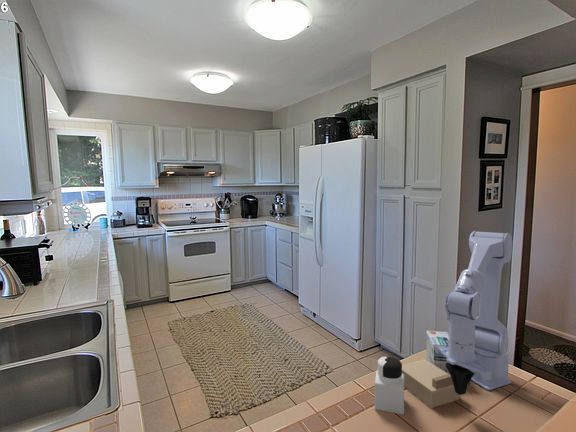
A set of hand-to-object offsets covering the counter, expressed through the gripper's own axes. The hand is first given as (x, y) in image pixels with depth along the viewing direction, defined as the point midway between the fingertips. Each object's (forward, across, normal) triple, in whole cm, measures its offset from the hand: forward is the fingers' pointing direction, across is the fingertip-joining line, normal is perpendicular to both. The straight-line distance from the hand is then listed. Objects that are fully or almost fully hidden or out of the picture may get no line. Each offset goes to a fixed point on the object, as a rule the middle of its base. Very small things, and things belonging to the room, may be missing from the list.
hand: (460, 392), depth 81 cm
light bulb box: (+6, -17, +11) cm, 21 cm away
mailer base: (+5, -11, 0) cm, 12 cm away
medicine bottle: (+6, -10, -14) cm, 18 cm away
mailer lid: (+1, -11, 0) cm, 11 cm away
